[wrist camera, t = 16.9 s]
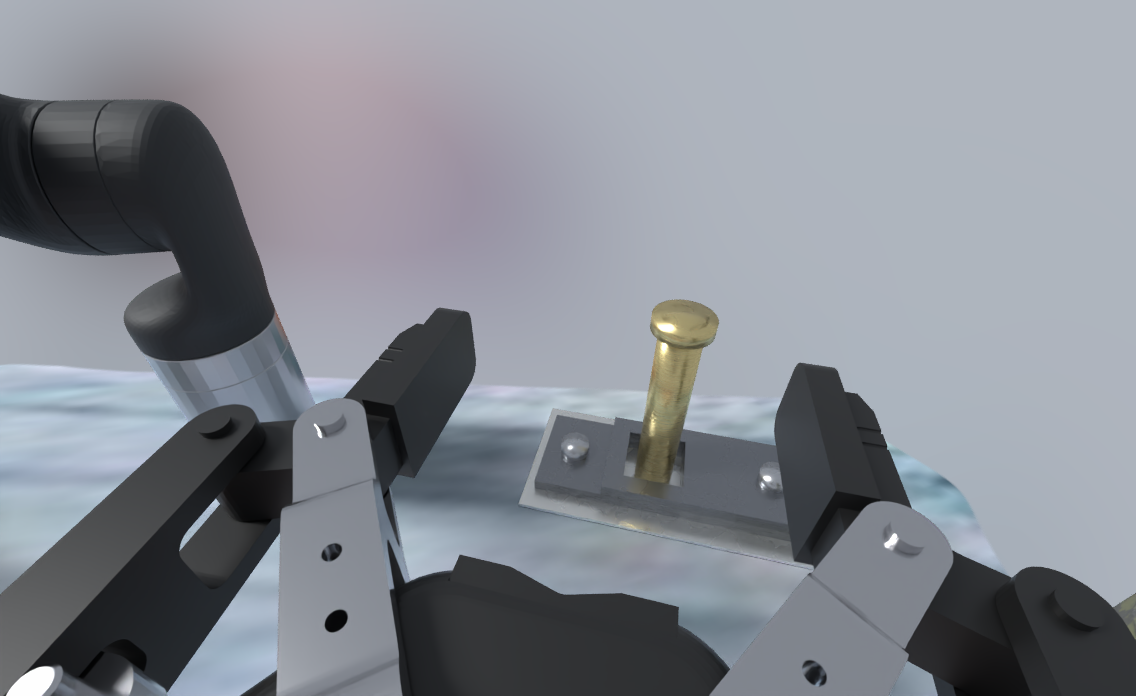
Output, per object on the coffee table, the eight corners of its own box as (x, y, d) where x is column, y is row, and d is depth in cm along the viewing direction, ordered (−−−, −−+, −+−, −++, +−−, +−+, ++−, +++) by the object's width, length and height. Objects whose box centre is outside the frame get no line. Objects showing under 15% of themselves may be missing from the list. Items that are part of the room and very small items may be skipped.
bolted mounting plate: (518, 506, 45) (517, 480, 43) (552, 410, 55) (552, 386, 53) (833, 574, 41) (850, 550, 38) (808, 456, 51) (820, 432, 48)
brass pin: (617, 468, 48) (638, 311, 37) (653, 447, 51) (684, 293, 39) (651, 504, 45) (686, 344, 34) (688, 479, 48) (732, 322, 36)
